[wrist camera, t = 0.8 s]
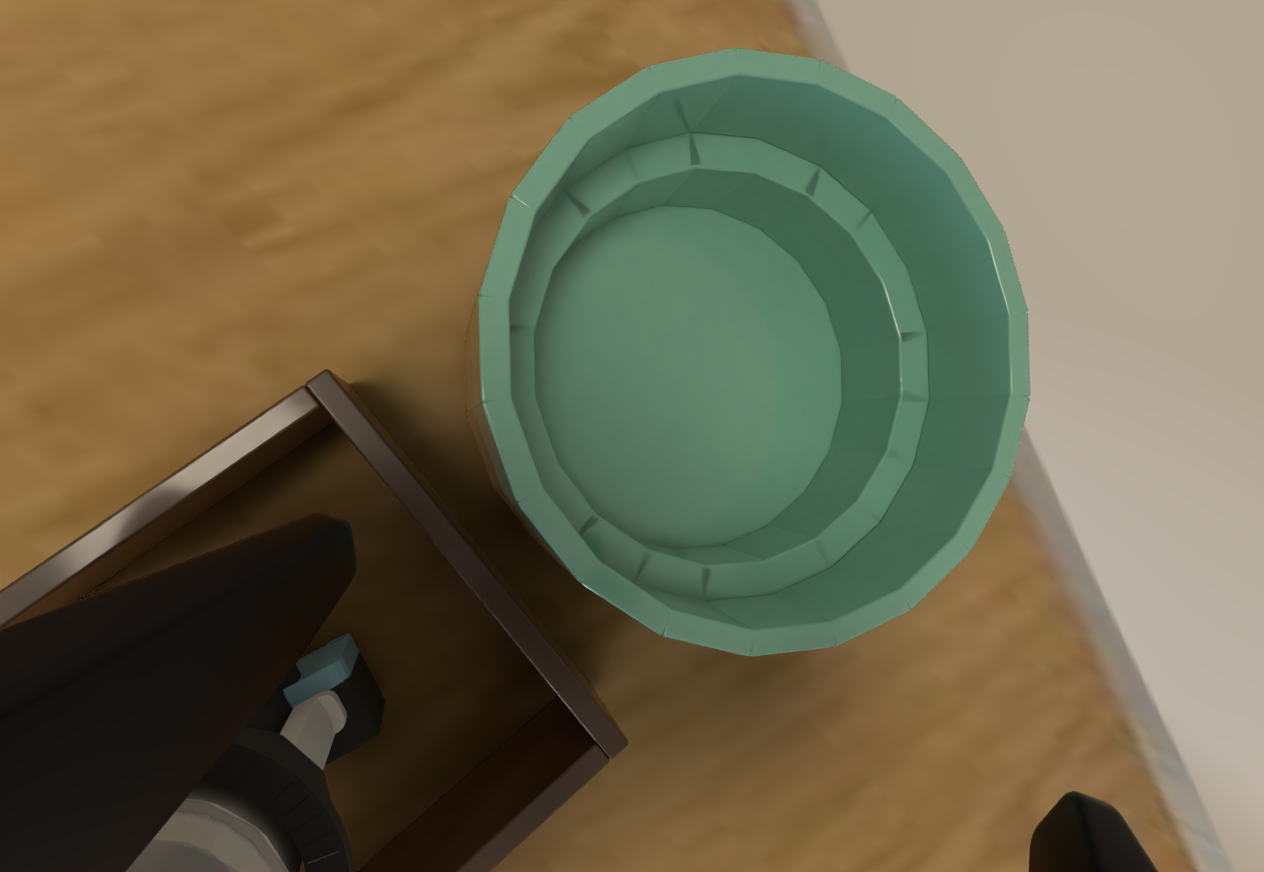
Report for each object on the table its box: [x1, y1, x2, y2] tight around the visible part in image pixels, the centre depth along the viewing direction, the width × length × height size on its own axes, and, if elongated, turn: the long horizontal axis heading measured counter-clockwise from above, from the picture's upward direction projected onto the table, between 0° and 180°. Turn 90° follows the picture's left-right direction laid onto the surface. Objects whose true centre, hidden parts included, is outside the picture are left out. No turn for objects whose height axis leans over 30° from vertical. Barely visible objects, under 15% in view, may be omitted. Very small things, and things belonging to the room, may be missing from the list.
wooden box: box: [0, 369, 628, 872], centre depth 17 cm, size 14×11×4 cm
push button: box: [126, 633, 385, 872], centre depth 14 cm, size 7×5×10 cm
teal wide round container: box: [465, 48, 1030, 657], centre depth 19 cm, size 13×13×6 cm
